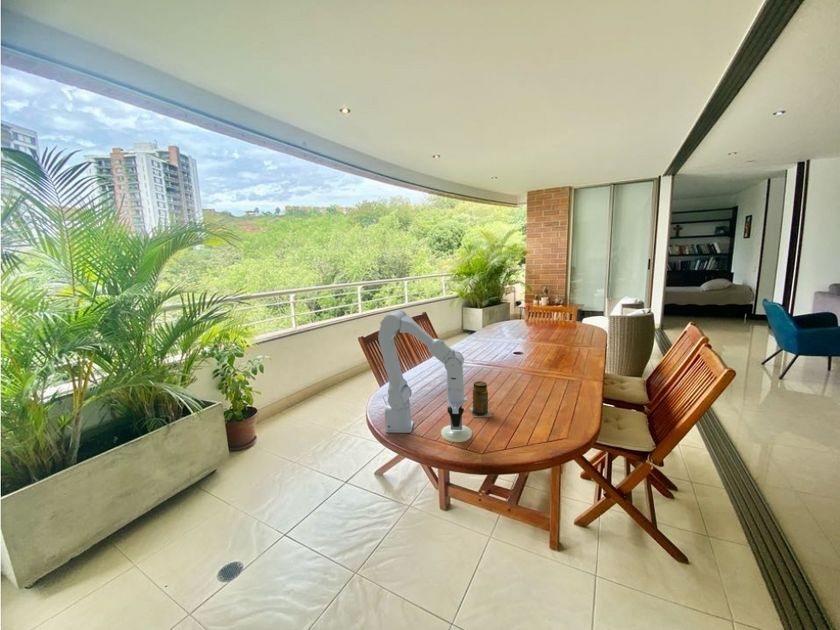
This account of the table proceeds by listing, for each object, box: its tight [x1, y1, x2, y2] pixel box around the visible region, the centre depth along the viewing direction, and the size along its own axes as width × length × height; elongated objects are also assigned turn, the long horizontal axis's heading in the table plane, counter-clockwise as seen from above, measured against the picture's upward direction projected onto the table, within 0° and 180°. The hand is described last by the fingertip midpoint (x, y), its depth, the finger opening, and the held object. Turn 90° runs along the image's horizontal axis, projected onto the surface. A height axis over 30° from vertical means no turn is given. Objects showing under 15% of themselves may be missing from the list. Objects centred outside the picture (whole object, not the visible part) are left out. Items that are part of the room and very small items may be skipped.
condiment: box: [469, 380, 493, 418], centre depth 135 cm, size 7×8×12 cm
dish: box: [440, 424, 473, 443], centre depth 122 cm, size 11×11×1 cm
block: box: [449, 415, 463, 430], centre depth 121 cm, size 4×4×6 cm
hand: (456, 423), depth 121 cm, fingers closed on block, 4 cm apart
